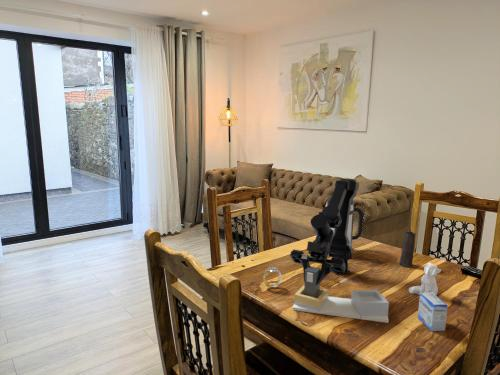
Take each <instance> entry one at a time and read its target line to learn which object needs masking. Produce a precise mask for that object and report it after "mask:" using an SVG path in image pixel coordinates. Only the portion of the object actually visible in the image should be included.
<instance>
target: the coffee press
mask: <svg viewBox="0 0 500 375" xmlns="http://www.w3.org/2000/svg"><path fill="white" fill-rule="evenodd" d="M331 197H332V195H330V196H329V197H328V198H327V199H326V204H325V207H326V206H328V204H329V202H330V199H331ZM354 205H355V200H354V198H353V199H352V201H351V208H350V215H349V222H348V230H347V237H348V239H349V241H350V247H351V250H352V252H353V253H355V250H354V248H353V240H357V239H359V238H360V237H361V236H362V233H363V227H364V226H363V223H364V214H363V213H364V212H363V211H362V209H360V208H359V207H354ZM355 212H357V213H358V226H357V233H356V234H355V235H353V230H354V229H353V228H354V227H353V226H354V213H355ZM331 229H332V230H333V232H334V234H335V233H336V228H331ZM333 236H334V235H333Z"/></svg>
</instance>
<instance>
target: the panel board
mask: <svg viewBox="0 0 500 375" xmlns="http://www.w3.org/2000/svg"><path fill="white" fill-rule="evenodd" d="M296 310H297V311H298V312H306V313H312V314H313V313H314V314H319V311H318V310H314V309H311V308H307V307H303V306H300V305H296V304H294V303H293V305H292V311H296ZM320 315H327V316H332V317H333V316H335V317H343V318H350V319H357V320H362V321H363V320H364V321H372V322H373V321H374V322H378V323H387V324H388V323H389V315H388V316H362V318H361V319H360V315H359V314H358V312H357V311H356V309H355V308H354V306H353V305H352V303H351V298H344V297H336V296H329V297H328V301H327V302H326V303H325V305H324V306H323V307H322V308H321V310H320Z"/></svg>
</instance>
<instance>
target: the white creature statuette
mask: <svg viewBox="0 0 500 375" xmlns="http://www.w3.org/2000/svg"><path fill="white" fill-rule="evenodd" d="M423 269H424V271H423V272H424V274H423V276H422V277H421V279H420V282H421V284H420V285H415V286H413V285H412V287H411V286H410V287H409V288H408V292H409V293H410V294H412V295H418V296H420V293H433V294H434V295H436V296H437V295H438V292H439V287H438V285H437V278H436V276H438V275H437V274H439V273H441V271H442V269H439V268H438V266H437V265H436V264H433V263H430V262H426V265H425V266H424V267H423Z"/></svg>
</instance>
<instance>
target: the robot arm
mask: <svg viewBox="0 0 500 375" xmlns="http://www.w3.org/2000/svg"><path fill="white" fill-rule="evenodd" d="M359 187H360V183H359V182H357V179H354V178H353V179H352V178H340V179H338V180H335V183H334V189H333V192H332V195H331V196H332V197H331V199H330V202H329V204H328V206H326V205H325V207H323V208H322V210H321V211H319V212H318V214H315V215H314V216H312V218H311V219H310V225H311V227H312V229H313V232H314V233H315V235H316V236H315V239H314V240H313V241H310V240H309V241H307V246H306V251H308V252H307V253H308V254H309V255H308V254H305V253H304V251H303V250H300V249H292V250H291V252H290V254H289V256H290V258H291V260H292V261H293V263H295V264H301V266H302V268H303V282H304V283H305V270H306V269H307V268H308V267H309V266H311V264H310V263H316V264H320V265H321V268H320V273H319V276H318V279H317V283H316V285H319V284H321V283H322V281H323V280H324V279H325V278H326V277H327V276H328V275H329V274H330V273H334V274H336V275H343V274H347V273H351V270H350V269H349V262H348V261H350V260H353V253H352V252H353V251H352V249H351V247H350V241H349V239H348V237H347V230H348V222H349V215H350V208H351V201H352V199H353V200H354V198H355V197H356V196H357V192H358V191H359ZM331 228H336V233H335V234H334V232H333V230H332V229H331ZM333 235H334V236H333ZM328 257H329V259H328ZM330 258H331V259H330Z"/></svg>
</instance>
